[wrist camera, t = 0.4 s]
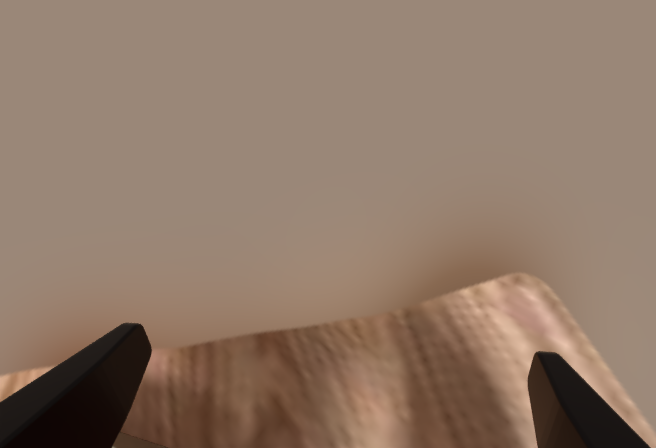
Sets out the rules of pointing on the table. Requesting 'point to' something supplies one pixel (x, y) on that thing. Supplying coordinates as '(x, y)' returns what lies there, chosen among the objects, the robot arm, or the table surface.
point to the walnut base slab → (133, 442)
